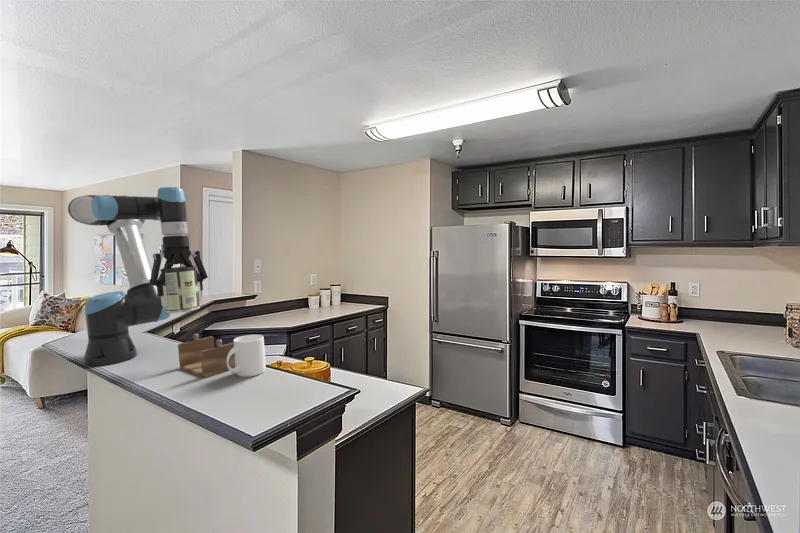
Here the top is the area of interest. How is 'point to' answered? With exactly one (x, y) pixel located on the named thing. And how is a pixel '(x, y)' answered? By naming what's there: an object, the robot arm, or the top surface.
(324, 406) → the top surface
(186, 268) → the coffee can
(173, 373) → the top surface
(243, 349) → the mug
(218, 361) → the cradle
